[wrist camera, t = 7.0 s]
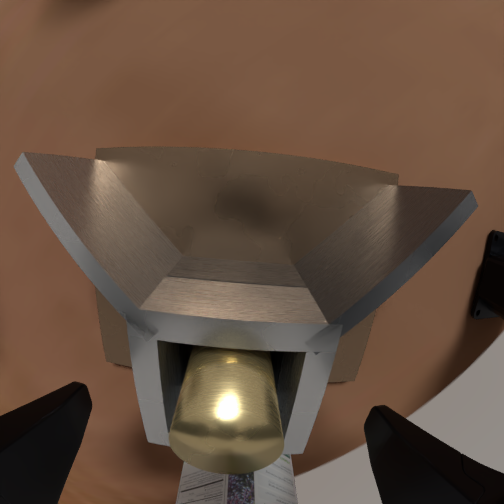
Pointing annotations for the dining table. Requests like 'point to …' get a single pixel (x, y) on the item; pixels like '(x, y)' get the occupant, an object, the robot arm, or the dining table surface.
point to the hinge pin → (227, 412)
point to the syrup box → (239, 485)
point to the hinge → (238, 261)
